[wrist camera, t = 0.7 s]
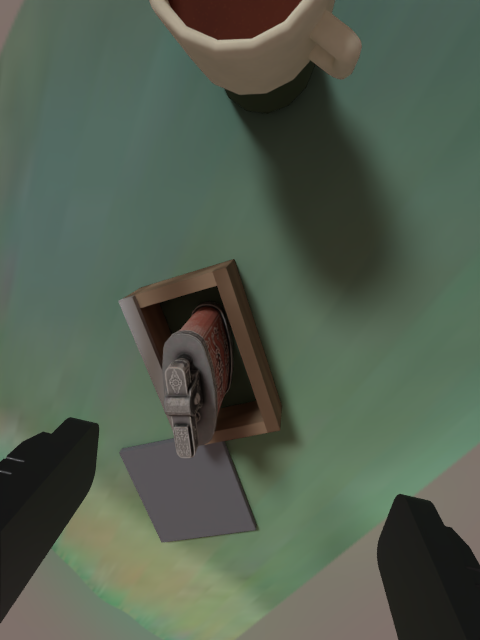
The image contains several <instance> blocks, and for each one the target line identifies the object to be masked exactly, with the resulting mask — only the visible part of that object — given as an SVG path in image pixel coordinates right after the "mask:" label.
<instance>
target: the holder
mask: <svg viewBox="0 0 480 640" xmlns="http://www.w3.org/2000/svg"><path fill="white" fill-rule="evenodd" d="M214 286H217V287H218V290H219V293H220V296H221V299H222V302H223V305H224V307H225V310H226V313H227V316H228V319H229V322H230V325H231V328H232V331H233V334H234V337H235V339H236V342H237V345H238V348H239V351H240V354H241V357H242V360H243V363H244V366H245V369H246V371H247V374H248V377H249V380H250V383H251V386H252V389H253V392H254V395H255V398H256V400H257V401H252V402H247V403H243V404H238V405H233V406H229V407H224V408H220V409H219V412H218V415H217V421H216V429H215V432H214V435H213V437H212V440H211V441H210V442H209V443H207V444H212V443H217V442H222V441H227V440H233V439H238V438H243V437H248V436H253V435H259V434H264V433H269V432H274V431H280V426H281V412H282V405H281V402H280V399H279V395H278V392H277V389H276V386H275V383H274V380H273V377H272V374H271V371H270V368H269V365H268V362H267V359H266V355H265V352H264V349H263V346H262V343H261V340H260V337H259V334H258V331H257V328H256V325H255V322H254V318H253V315H252V312H251V309H250V306H249V303H248V300H247V297H246V294H245V291H244V288H243V285H242V282H241V278H240V275H239V272H238V269H237V266H236V263H235V260H234V259H233V260H229V261H226V262H223V263H219V264H216V265H213V266H210V267H206V268H203V269H200V270H197V271H193V272H190V273H187V274H184V275H180V276H177V277H174V278H171V279H167V280H164V281H161V282H158V283H154V284H151V285H148V286H145V287H141V288H139V289H138V290H136V291H135V292H133V293H131V294H130V295H128V296H126V297H125V298H123V299H121V300H119V304H120V306H121V309H122V311H123V313H124V316H125V318H126V320H127V323H128V325H129V328H130V330H131V332H132V335H133V337H134V339H135V342H136V344H137V347H138V349H139V351H140V354H141V356H142V358H143V361H144V363H145V366H146V368H147V370H148V373H149V375H150V377H151V380H152V382H153V385H154V387H155V389H156V392H157V394H158V396H159V399H160V401H161V403H162V406H163V408H164V397H165V395H164V388H163V375H162V363H163V347H164V344H165V342H166V341H167V340H168V339H169V337H170V336H171V335H172V334H171V332H170V329H169V326H168V324H167V321H166V319H165V316H164V314H163V311H162V308H161V306H160V303H159V302H163V301H166V300H170V299H173V298H176V297H180V296H183V295H187V294H190V293H193V292H197V291H200V290H204V289H207V288H211V287H214ZM167 418H168V420H169V422H170V425H171V427H172V430H173V426H172V422H171V419H170V416H168V415H167ZM207 444H205V445H207Z"/></svg>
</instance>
